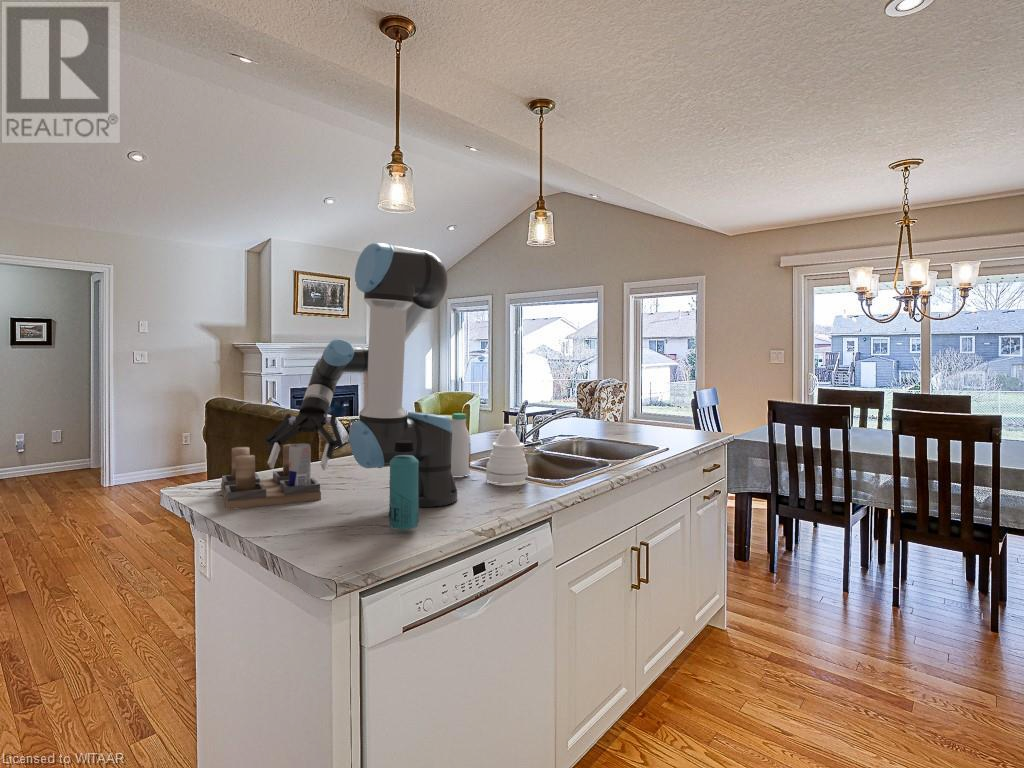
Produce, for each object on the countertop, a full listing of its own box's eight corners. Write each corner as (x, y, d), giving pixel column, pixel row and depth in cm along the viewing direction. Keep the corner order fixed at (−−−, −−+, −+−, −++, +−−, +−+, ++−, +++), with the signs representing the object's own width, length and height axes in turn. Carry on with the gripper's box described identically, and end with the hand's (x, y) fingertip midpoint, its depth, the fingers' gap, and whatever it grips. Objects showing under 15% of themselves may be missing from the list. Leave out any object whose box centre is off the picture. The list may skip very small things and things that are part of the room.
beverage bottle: (424, 529, 122) (425, 439, 121) (409, 538, 115) (410, 443, 114) (398, 525, 124) (399, 437, 123) (382, 534, 117) (383, 441, 116)
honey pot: (527, 487, 164) (529, 426, 163) (484, 485, 164) (486, 425, 163) (527, 477, 176) (528, 421, 175) (487, 476, 177) (488, 420, 176)
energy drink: (292, 487, 148) (292, 443, 148) (312, 487, 149) (313, 443, 148) (286, 492, 143) (286, 446, 142) (307, 492, 143) (307, 446, 143)
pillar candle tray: (320, 499, 144) (321, 454, 144) (226, 509, 133) (226, 460, 132) (304, 482, 163) (304, 441, 162) (221, 489, 152) (221, 446, 151)
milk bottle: (466, 478, 172) (467, 415, 171) (442, 477, 174) (443, 414, 173) (472, 473, 180) (474, 413, 179) (450, 472, 181) (451, 412, 180)
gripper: (362, 413, 160) (347, 475, 146) (276, 411, 160) (253, 473, 146) (357, 396, 155) (341, 459, 141) (268, 394, 154) (243, 457, 140)
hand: (296, 466), depth 143 cm, fingers open, 13 cm apart
